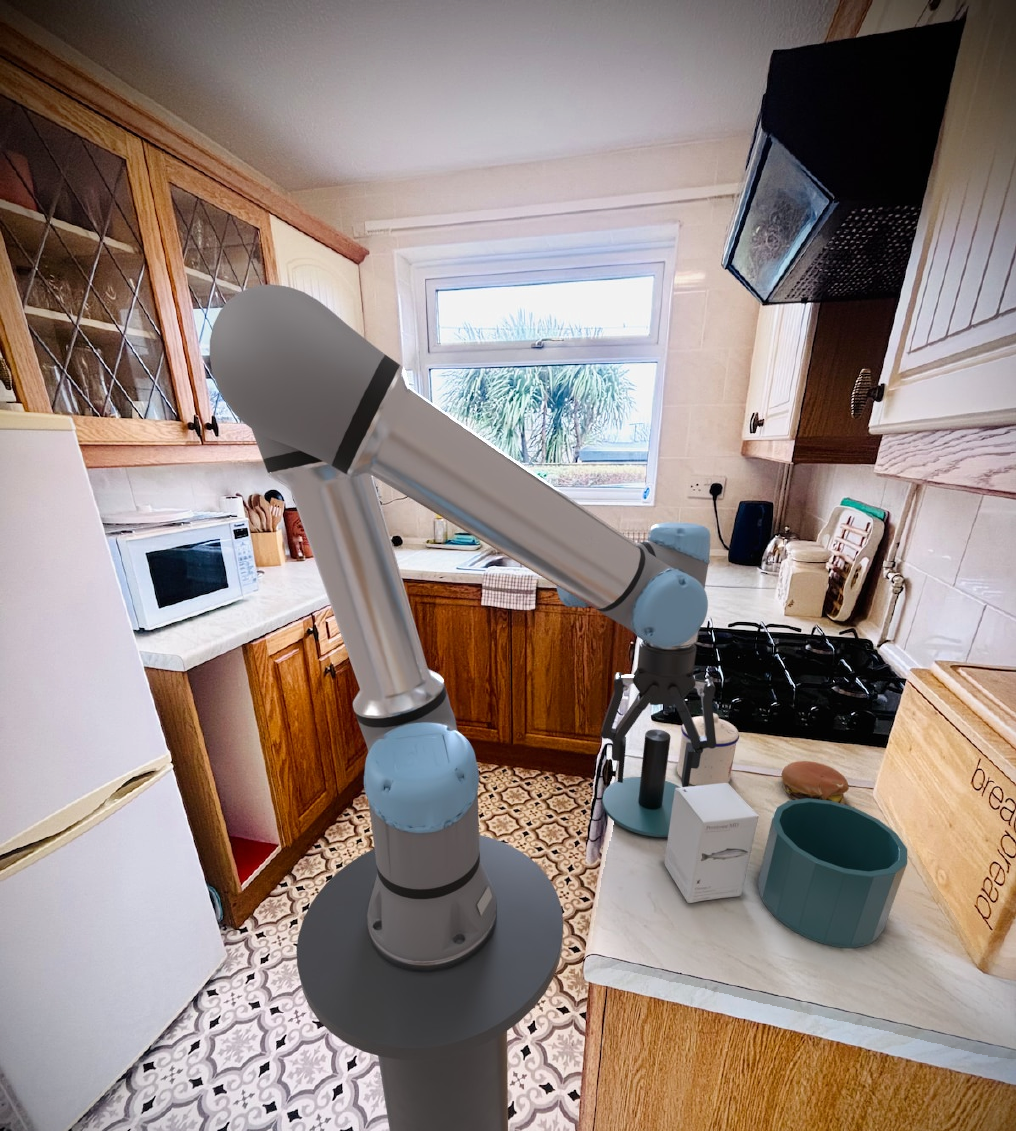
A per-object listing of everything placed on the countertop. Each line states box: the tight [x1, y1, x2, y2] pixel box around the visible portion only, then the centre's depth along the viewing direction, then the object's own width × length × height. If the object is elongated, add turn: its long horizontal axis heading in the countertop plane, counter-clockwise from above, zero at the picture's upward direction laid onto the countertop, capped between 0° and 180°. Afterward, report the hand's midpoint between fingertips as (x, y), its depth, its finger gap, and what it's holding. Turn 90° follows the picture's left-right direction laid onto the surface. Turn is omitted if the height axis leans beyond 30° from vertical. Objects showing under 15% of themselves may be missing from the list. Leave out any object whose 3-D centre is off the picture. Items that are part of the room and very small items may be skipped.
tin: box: [757, 798, 908, 949], centre depth 65 cm, size 14×14×10 cm
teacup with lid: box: [676, 712, 740, 786], centre depth 93 cm, size 12×9×12 cm
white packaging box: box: [663, 782, 759, 904], centre depth 68 cm, size 7×7×13 cm
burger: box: [781, 760, 850, 805], centre depth 87 cm, size 10×9×5 cm
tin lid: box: [601, 729, 681, 838], centre depth 82 cm, size 15×15×13 cm
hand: (652, 780), depth 83 cm, fingers open, 9 cm apart
